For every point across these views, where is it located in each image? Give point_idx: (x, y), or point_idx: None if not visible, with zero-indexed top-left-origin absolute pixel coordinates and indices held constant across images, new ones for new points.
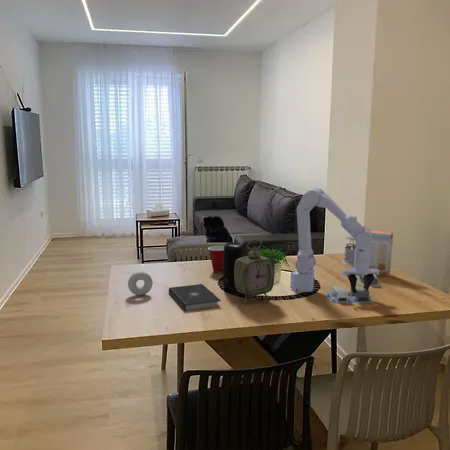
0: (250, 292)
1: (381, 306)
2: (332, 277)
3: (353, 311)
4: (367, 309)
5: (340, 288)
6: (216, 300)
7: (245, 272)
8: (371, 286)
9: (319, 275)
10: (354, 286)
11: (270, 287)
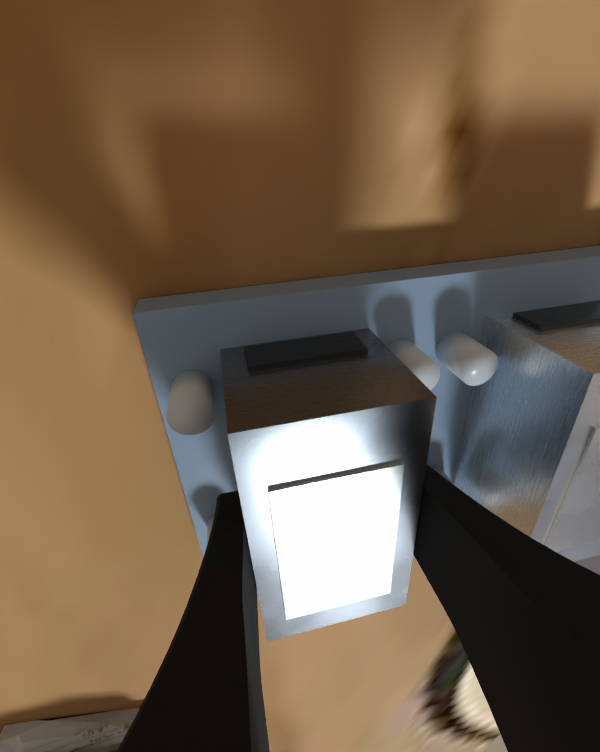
0: None
1: (41, 251)
2: (315, 744)
3: (530, 27)
4: (296, 113)
5: (598, 490)
6: None
7: None
8: (83, 717)
9: (374, 742)
10: (485, 521)
11: None
